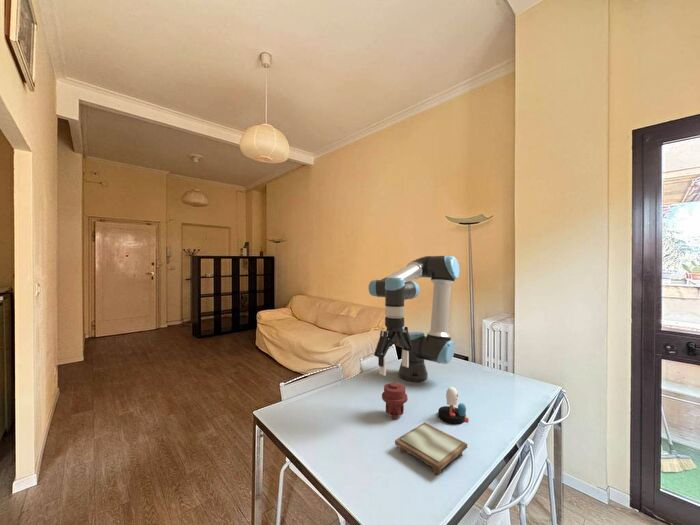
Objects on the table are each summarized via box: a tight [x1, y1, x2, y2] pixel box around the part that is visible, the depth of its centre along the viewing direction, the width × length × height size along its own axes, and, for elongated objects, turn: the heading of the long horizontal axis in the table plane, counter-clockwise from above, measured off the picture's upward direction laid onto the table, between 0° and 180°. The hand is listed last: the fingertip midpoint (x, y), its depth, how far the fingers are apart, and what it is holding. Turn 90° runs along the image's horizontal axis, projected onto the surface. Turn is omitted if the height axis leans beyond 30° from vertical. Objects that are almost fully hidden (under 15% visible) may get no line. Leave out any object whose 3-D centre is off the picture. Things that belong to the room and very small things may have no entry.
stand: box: [394, 421, 468, 475], centre depth 92 cm, size 16×16×4 cm
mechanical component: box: [381, 382, 409, 421], centre depth 114 cm, size 12×10×10 cm
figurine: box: [437, 386, 470, 426], centre depth 112 cm, size 10×11×12 cm
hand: (394, 370), depth 114 cm, fingers open, 13 cm apart
